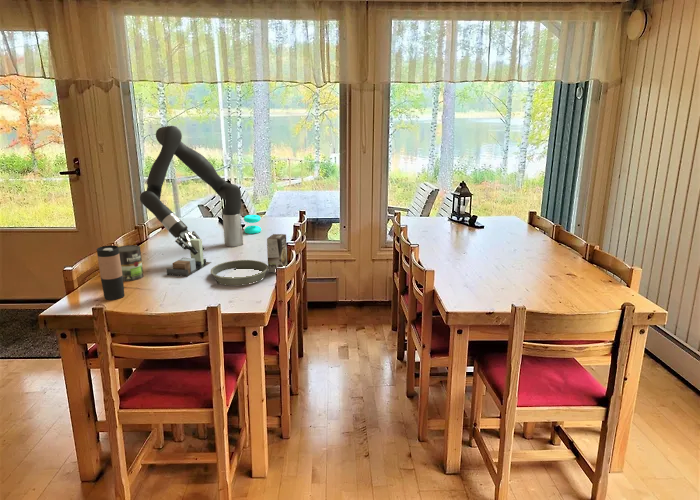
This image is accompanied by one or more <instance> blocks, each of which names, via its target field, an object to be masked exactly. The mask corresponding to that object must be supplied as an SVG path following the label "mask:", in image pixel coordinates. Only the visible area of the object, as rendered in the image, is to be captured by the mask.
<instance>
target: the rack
mask: <svg viewBox="0 0 700 500" xmlns="http://www.w3.org/2000/svg"><path fill="white" fill-rule="evenodd" d="M203 259H204V264H203V265H202V263H201V262H200V261H195V263H196V269H195V270H193V271H192V272H190V273H188V270H187V269H176V268H173V267H166V269H165V270H166V275H167V276H170V277H171V276H173V277H183V278H184V277H185V278H188V277H189V276H192V275H193V274H195V273H197V272H198V271H200V270H202V269H203V268H205V267H207V266H208V265H210V264H212V262H211V261H207V259H206V258H203Z"/></svg>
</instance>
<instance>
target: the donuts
mask: <svg viewBox="0 0 700 500" xmlns="http://www.w3.org/2000/svg"><path fill="white" fill-rule="evenodd" d="M243 221H244V222H245V223H249V224H256V223H259V222H260V221H261V216H260V215H258V214H248V215H245V216H244V217H243ZM261 231H262V227H260V225H248V226H246V227H245V228H244V230H243V232H244V233H245V234H249V235H256V234H259V233H261ZM255 233H256V234H255Z"/></svg>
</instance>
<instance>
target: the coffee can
mask: <svg viewBox="0 0 700 500" xmlns="http://www.w3.org/2000/svg"><path fill="white" fill-rule="evenodd" d="M118 248H119V255H120V262H121V268H122V275H123V282H132V281H138V280H141V279H143V278H144V267H143V260H142V252H141V246H140V245H136V244H135V245H134V244H129V245H128V244H127V245H122V246H118Z"/></svg>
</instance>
